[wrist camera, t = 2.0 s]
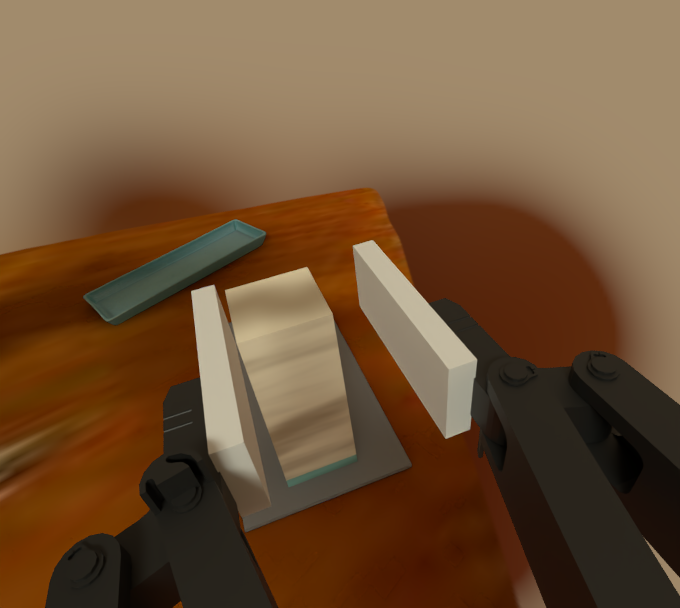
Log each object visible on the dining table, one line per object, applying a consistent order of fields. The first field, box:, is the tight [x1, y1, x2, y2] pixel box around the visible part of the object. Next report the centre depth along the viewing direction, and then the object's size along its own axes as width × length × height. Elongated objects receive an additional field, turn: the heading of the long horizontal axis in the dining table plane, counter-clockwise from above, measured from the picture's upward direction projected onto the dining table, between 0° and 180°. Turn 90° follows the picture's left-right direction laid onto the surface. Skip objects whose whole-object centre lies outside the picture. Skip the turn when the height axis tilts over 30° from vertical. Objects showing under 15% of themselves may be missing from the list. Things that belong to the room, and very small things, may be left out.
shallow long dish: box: [83, 219, 266, 325], centre depth 65 cm, size 26×9×2 cm, turn 135°
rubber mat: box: [228, 321, 412, 532], centre depth 44 cm, size 26×14×1 cm, turn 19°
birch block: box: [225, 267, 357, 487], centre depth 33 cm, size 6×6×16 cm
